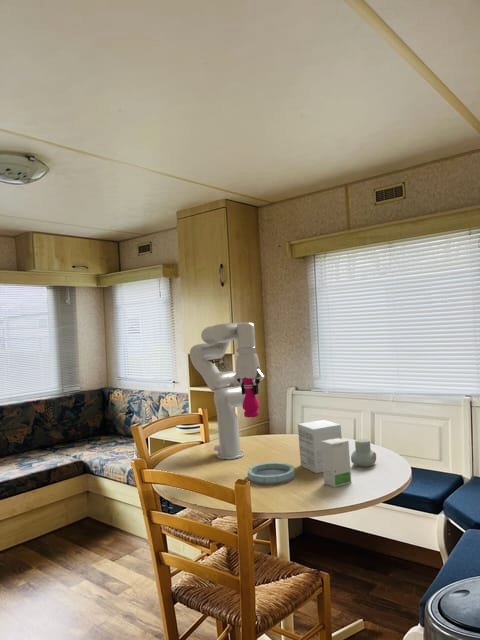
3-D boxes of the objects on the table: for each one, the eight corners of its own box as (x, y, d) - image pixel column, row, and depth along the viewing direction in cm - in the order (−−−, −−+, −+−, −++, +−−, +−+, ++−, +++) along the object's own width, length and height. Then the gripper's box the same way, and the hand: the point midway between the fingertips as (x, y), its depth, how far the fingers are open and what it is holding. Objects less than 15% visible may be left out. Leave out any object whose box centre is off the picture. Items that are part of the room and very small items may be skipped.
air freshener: (358, 460, 202) (356, 436, 202) (377, 462, 198) (376, 437, 198) (350, 468, 192) (348, 443, 192) (370, 470, 188) (368, 444, 188)
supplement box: (327, 460, 206) (324, 419, 206) (344, 467, 193) (341, 424, 194) (299, 465, 201) (296, 423, 201) (315, 473, 189) (312, 429, 189)
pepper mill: (242, 415, 208) (239, 368, 208) (258, 413, 208) (255, 367, 208) (243, 418, 201) (240, 370, 201) (261, 416, 201) (257, 369, 201)
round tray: (239, 481, 186) (238, 473, 186) (264, 468, 200) (263, 460, 200) (279, 488, 175) (279, 479, 175) (302, 473, 190) (302, 465, 190)
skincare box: (334, 488, 171) (331, 444, 171) (322, 483, 177) (319, 441, 177) (352, 483, 175) (349, 440, 175) (340, 478, 181) (337, 437, 181)
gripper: (225, 352, 206) (228, 395, 206) (259, 352, 197) (262, 396, 196) (236, 351, 213) (238, 392, 212) (268, 350, 203) (271, 393, 203)
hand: (250, 393), depth 204 cm, fingers closed on pepper mill, 5 cm apart
